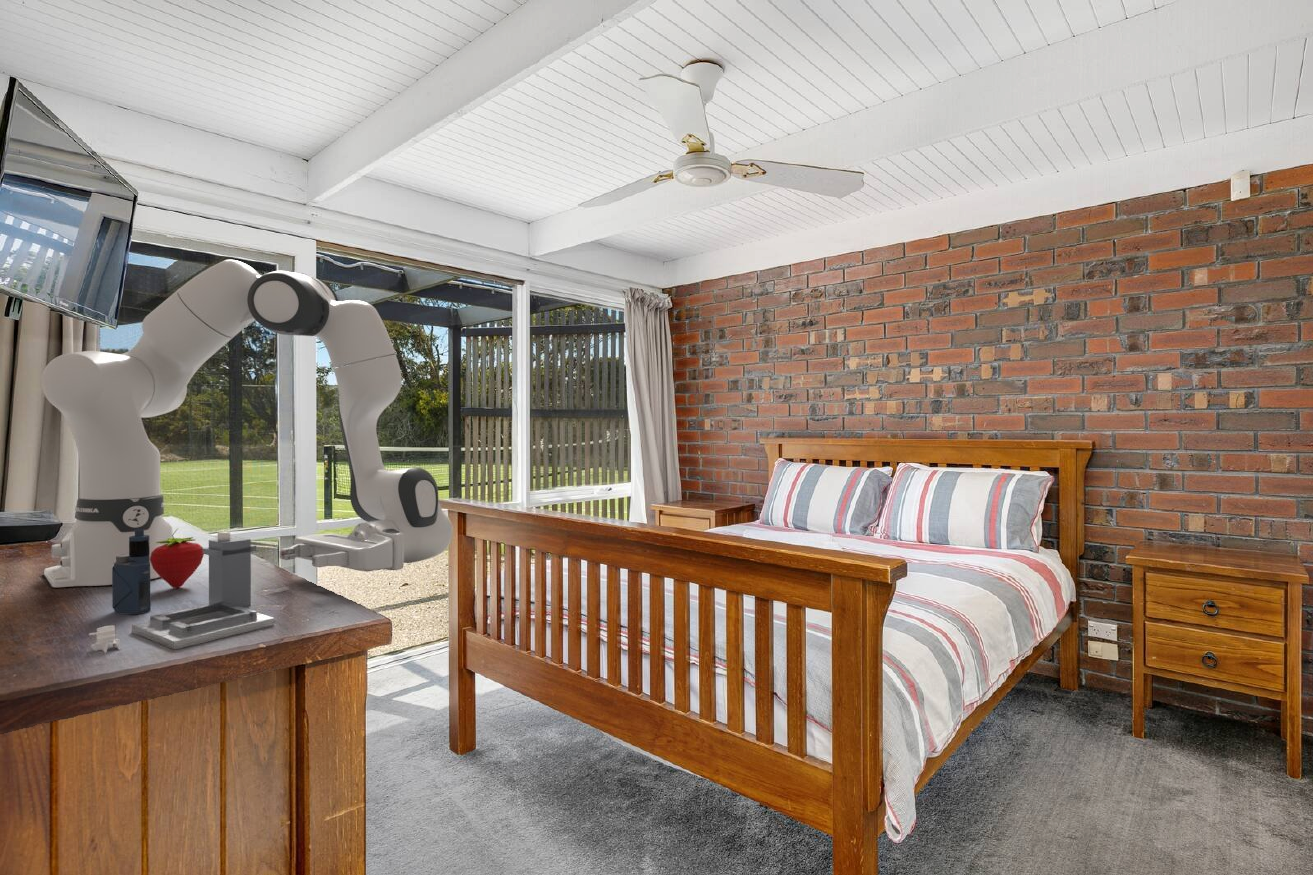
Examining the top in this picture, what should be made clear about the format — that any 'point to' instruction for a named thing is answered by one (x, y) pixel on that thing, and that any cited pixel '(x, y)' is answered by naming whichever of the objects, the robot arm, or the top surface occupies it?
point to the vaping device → (132, 577)
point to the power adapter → (105, 638)
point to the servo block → (230, 569)
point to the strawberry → (176, 560)
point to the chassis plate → (201, 624)
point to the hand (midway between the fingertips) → (297, 558)
